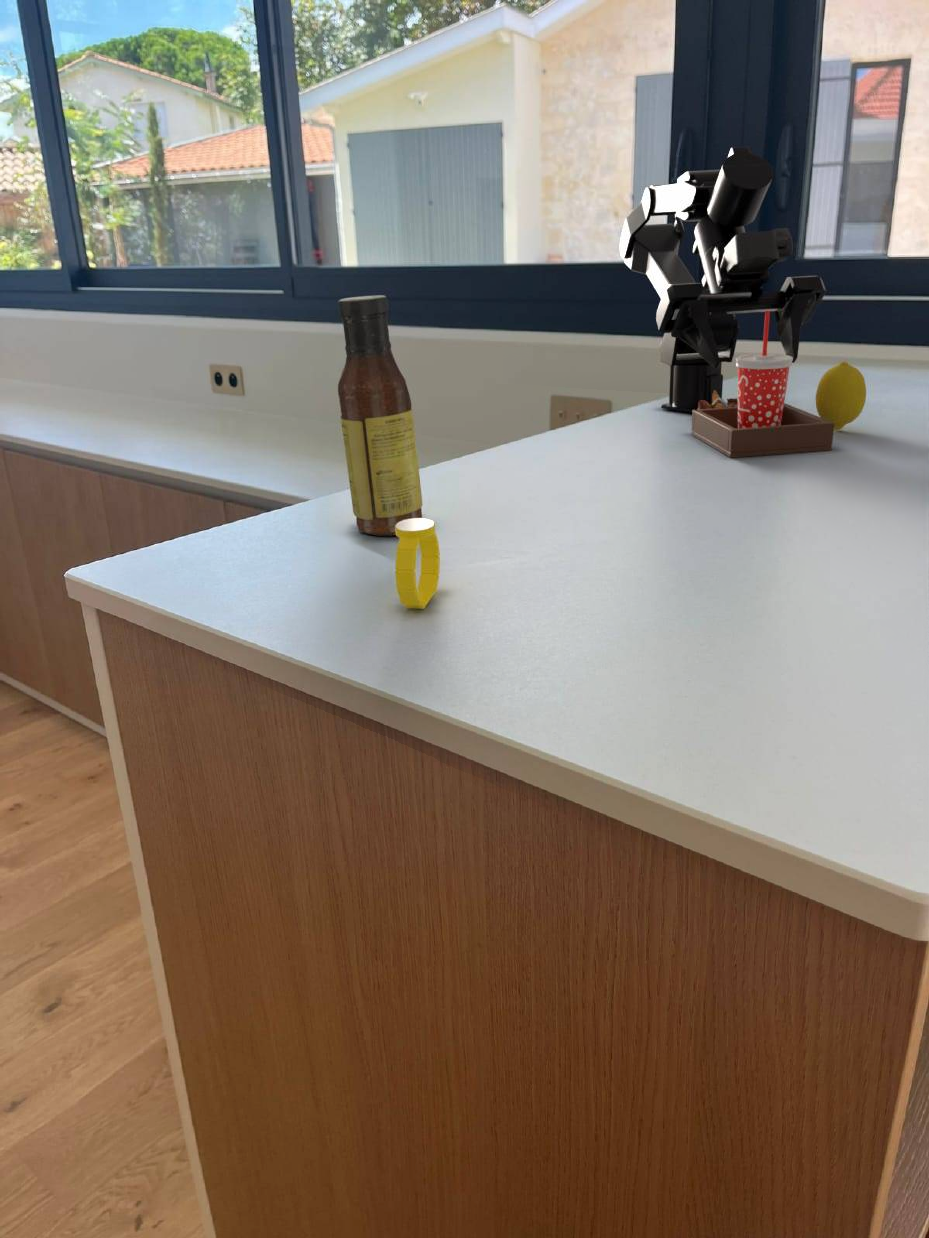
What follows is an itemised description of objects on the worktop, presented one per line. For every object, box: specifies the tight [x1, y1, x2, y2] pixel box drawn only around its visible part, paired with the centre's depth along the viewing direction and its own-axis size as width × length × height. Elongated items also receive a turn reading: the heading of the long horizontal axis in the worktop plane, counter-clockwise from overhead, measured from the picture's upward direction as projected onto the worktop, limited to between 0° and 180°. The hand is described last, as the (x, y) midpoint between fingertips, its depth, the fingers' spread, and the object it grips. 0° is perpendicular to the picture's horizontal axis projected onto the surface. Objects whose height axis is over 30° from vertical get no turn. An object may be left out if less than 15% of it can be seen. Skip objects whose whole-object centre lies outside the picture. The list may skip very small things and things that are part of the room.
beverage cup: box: [735, 311, 793, 429], centre depth 107 cm, size 6×6×14 cm
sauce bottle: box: [337, 295, 423, 537], centre depth 82 cm, size 6×6×20 cm
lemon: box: [815, 361, 867, 431], centre depth 112 cm, size 6×6×8 cm
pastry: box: [698, 390, 738, 410], centre depth 122 cm, size 7×12×4 cm, turn 152°
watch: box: [394, 517, 441, 610], centre depth 67 cm, size 6×3×6 cm, turn 165°
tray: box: [691, 402, 835, 459], centre depth 109 cm, size 13×12×3 cm
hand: (755, 363), depth 108 cm, fingers open, 9 cm apart
